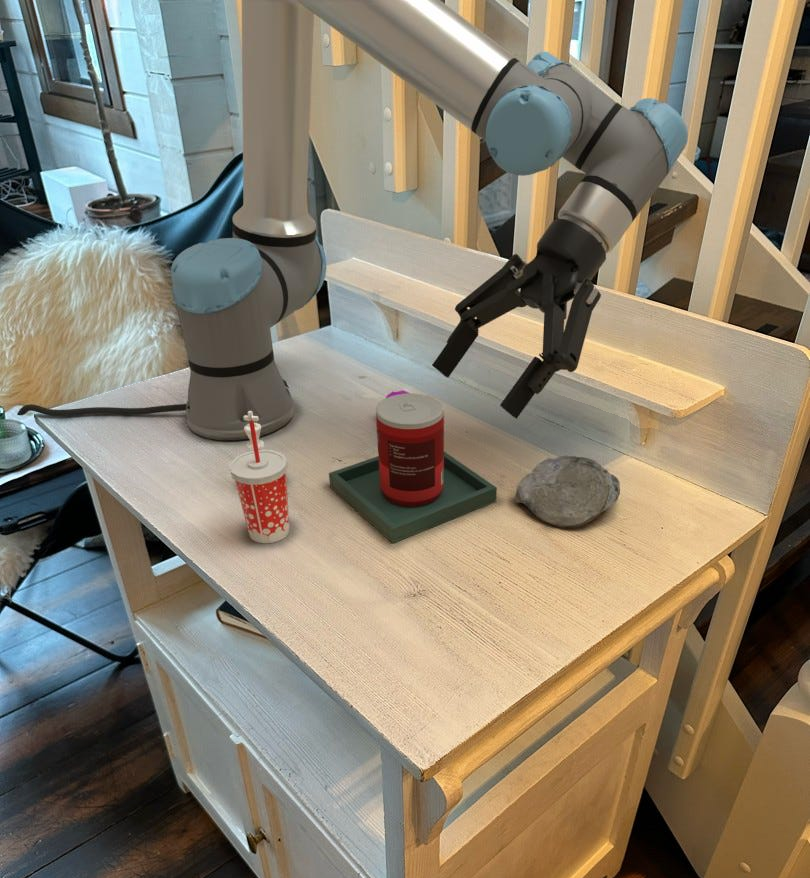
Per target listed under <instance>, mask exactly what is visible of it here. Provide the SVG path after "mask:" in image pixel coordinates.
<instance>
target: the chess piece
mask: <svg viewBox="0 0 810 878" xmlns="http://www.w3.org/2000/svg"><path fill="white" fill-rule="evenodd" d="M244 420H247V421H250V420H253V421H258V420H259V418H258V416H253V411H248V416H247V415H245V416H244ZM254 426H255V432H256V438H257V445H258V450H261V449H262V448H264V447H265V443H264V441H263V440H262V439H260V437H261V436H260V431H261V425H260V424H258V423H254ZM244 430H245V432H246V434H247V435H248V438H249V439H248V440H249V441H247V442H246V448H247V450H250V451H254V448H253V442H252V436H251V430H250V424H247V425H246V426H245V427H244Z"/></svg>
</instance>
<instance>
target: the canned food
mask: <svg viewBox="0 0 810 878" xmlns="http://www.w3.org/2000/svg"><path fill="white" fill-rule="evenodd" d="M375 410H376V411H375V423H376V424H375V425H376V438H377V439H376V441H377V452H378V453H377V456H378V457H379V473H380V487H381V490H382V492H383V494H384V496H385V497H386V498H387V499H388V500H389V501H391V502H393V503H395V504H398V505H401V506H410V507H414V506H422V505H426V504H429V503H431V502H433V501H435V500H436V499H437V498H438V497H439V496H440V494H441V492H442V489H443V484H444V452H445V412H444V406H443V404H442V402H441V401H439V400H438V399H437V398H435V397H433V396H429V395H426V394H422V393H410V392H408V394H398V395H394V396H390V397H388V398H386V397H385V398H384V399H381V401H379V402H378V404H377V405H376V409H375Z"/></svg>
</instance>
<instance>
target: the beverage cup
mask: <svg viewBox="0 0 810 878" xmlns="http://www.w3.org/2000/svg"><path fill="white" fill-rule="evenodd" d="M249 424H250V430H251V436H252V442H253V448H254V451H252V450H250V451H246V452H243V453H242V454H239V455H237V456H236V457H235V458H233V460H232V461H230V464H229V467H228V468H229V471H230V475H231V477H232V479H233V480H234V482H235V486H236V490H237V494H238V497H239V501H240V505H241V509H242V513H243V516H244V520H245V524H246V528H247V531H248V534H249V535H248V536H249V538H250V539H251V540H252V541H254V542H255V543H259V544H274V543H277V542H281V541H282V540H283V539H285V538H286V537H287V536H288V535H289V534H290V530H291V529H290V512H289V498H288V486H287V485H288V484H287V471H288V459H287V458H286V456H285V455H284V454H283V453H282V452H279V451H277V450H272V449H260V450H258V445H257V438H256V432H255V426H254V421H253V420H250V421H249Z"/></svg>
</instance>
